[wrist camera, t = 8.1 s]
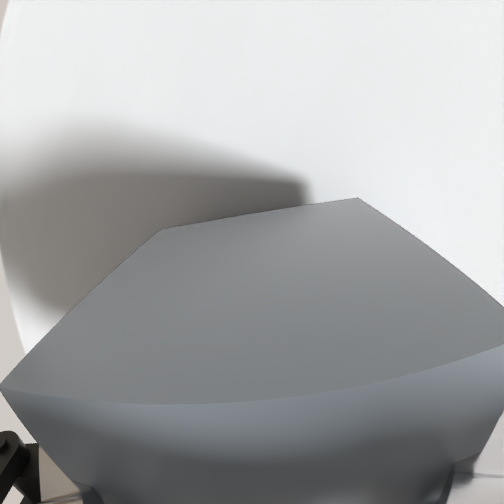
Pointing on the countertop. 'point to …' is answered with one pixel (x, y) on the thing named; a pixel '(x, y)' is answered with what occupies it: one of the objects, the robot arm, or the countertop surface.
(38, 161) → the countertop surface
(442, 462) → the grey square block
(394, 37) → the countertop surface
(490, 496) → the robot arm
